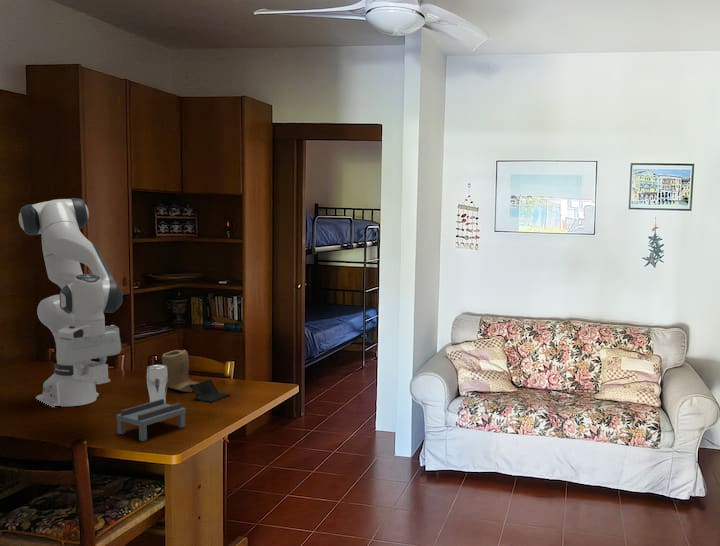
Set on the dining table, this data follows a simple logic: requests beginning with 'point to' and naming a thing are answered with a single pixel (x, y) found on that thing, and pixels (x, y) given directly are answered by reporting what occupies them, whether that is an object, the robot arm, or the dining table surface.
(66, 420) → the dining table surface
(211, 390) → the dark grey angled bracket
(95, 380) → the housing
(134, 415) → the stand
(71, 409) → the dining table surface
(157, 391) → the beer glass
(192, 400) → the dining table surface
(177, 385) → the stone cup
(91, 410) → the dining table surface
